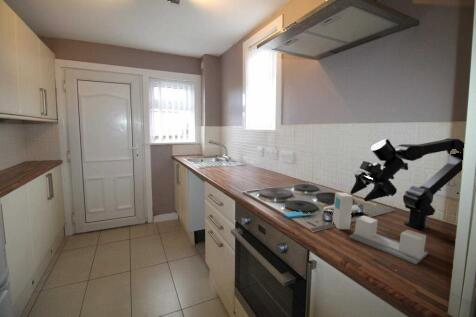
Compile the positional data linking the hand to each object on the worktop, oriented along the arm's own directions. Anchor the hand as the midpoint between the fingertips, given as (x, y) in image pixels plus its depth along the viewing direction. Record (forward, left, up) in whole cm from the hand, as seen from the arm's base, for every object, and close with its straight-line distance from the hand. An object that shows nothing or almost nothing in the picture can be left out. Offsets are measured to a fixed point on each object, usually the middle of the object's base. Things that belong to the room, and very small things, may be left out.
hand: (357, 196), depth 93 cm
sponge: (+13, -19, -13) cm, 26 cm away
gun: (-9, -12, -13) cm, 20 cm away
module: (+5, -2, -12) cm, 13 cm away
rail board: (+4, +15, -12) cm, 19 cm away
